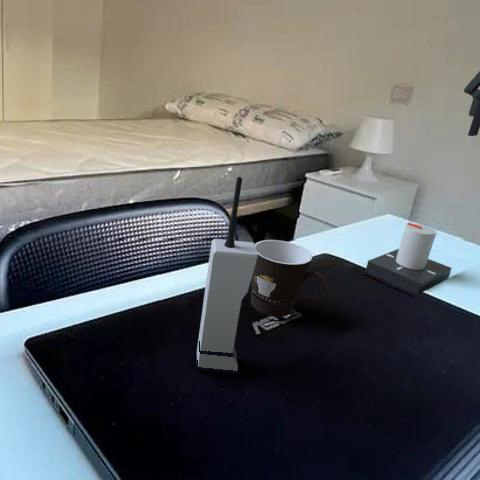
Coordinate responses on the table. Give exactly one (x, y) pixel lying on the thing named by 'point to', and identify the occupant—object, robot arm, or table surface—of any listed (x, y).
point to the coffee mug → (281, 276)
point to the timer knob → (415, 246)
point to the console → (408, 273)
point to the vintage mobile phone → (225, 294)
